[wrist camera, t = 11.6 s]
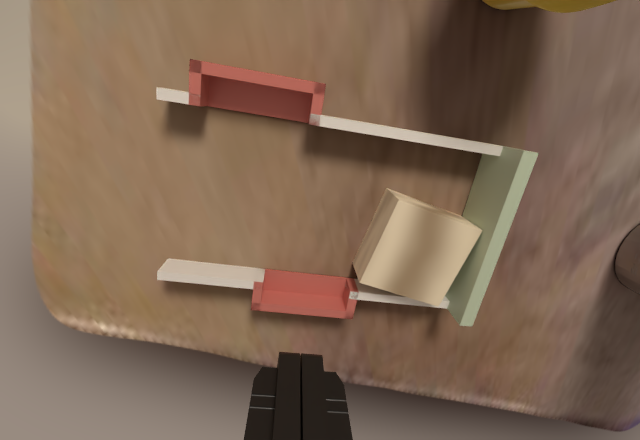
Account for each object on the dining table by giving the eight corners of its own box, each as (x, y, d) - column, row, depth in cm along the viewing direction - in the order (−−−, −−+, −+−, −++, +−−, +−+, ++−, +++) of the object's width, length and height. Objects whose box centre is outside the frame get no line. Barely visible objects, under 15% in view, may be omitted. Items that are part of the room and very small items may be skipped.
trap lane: (507, 119, 28) (550, 122, 23) (441, 313, 34) (464, 346, 30) (169, 57, 24) (140, 46, 20) (167, 286, 31) (145, 319, 26)
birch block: (459, 214, 31) (482, 230, 27) (422, 283, 33) (438, 306, 29) (385, 187, 29) (398, 199, 26) (351, 261, 32) (359, 282, 28)
